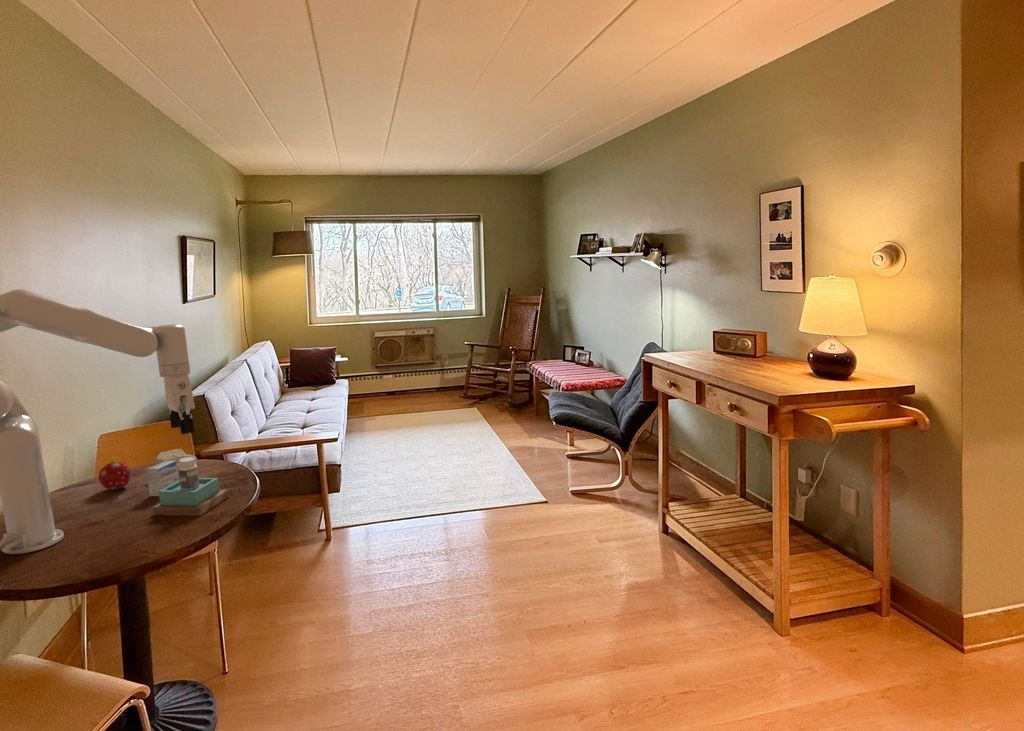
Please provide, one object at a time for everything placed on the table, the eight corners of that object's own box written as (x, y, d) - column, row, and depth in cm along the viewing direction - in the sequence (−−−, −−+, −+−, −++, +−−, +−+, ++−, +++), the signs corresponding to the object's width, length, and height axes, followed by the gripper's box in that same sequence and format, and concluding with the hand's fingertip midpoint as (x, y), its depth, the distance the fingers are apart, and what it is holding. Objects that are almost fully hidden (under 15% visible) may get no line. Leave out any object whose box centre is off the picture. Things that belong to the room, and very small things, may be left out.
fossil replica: (204, 470, 216) (181, 470, 219) (201, 445, 216) (178, 446, 219) (175, 479, 205) (151, 479, 208) (171, 453, 204) (148, 454, 207)
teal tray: (197, 505, 177) (195, 491, 176) (160, 505, 179) (158, 491, 178) (220, 491, 188) (218, 478, 187) (185, 490, 189) (183, 477, 189)
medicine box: (162, 497, 191) (158, 469, 190) (149, 496, 192) (145, 468, 191) (180, 487, 199) (177, 460, 198) (168, 487, 200) (164, 460, 199)
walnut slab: (200, 518, 176) (199, 507, 175) (154, 517, 178) (152, 507, 177) (229, 499, 189) (228, 489, 189) (186, 498, 192) (185, 488, 191)
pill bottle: (177, 488, 182) (174, 459, 181) (194, 483, 186) (191, 455, 184) (185, 492, 179) (182, 463, 178) (202, 487, 183) (199, 458, 181)
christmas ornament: (95, 495, 196) (89, 463, 194) (110, 485, 204) (105, 454, 203) (124, 492, 196) (119, 461, 195) (138, 483, 205) (133, 453, 203)
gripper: (198, 370, 173) (206, 432, 176) (180, 364, 186) (187, 422, 189) (168, 375, 168) (176, 438, 171) (151, 368, 181) (159, 427, 184)
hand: (182, 430), depth 180 cm, fingers open, 9 cm apart
